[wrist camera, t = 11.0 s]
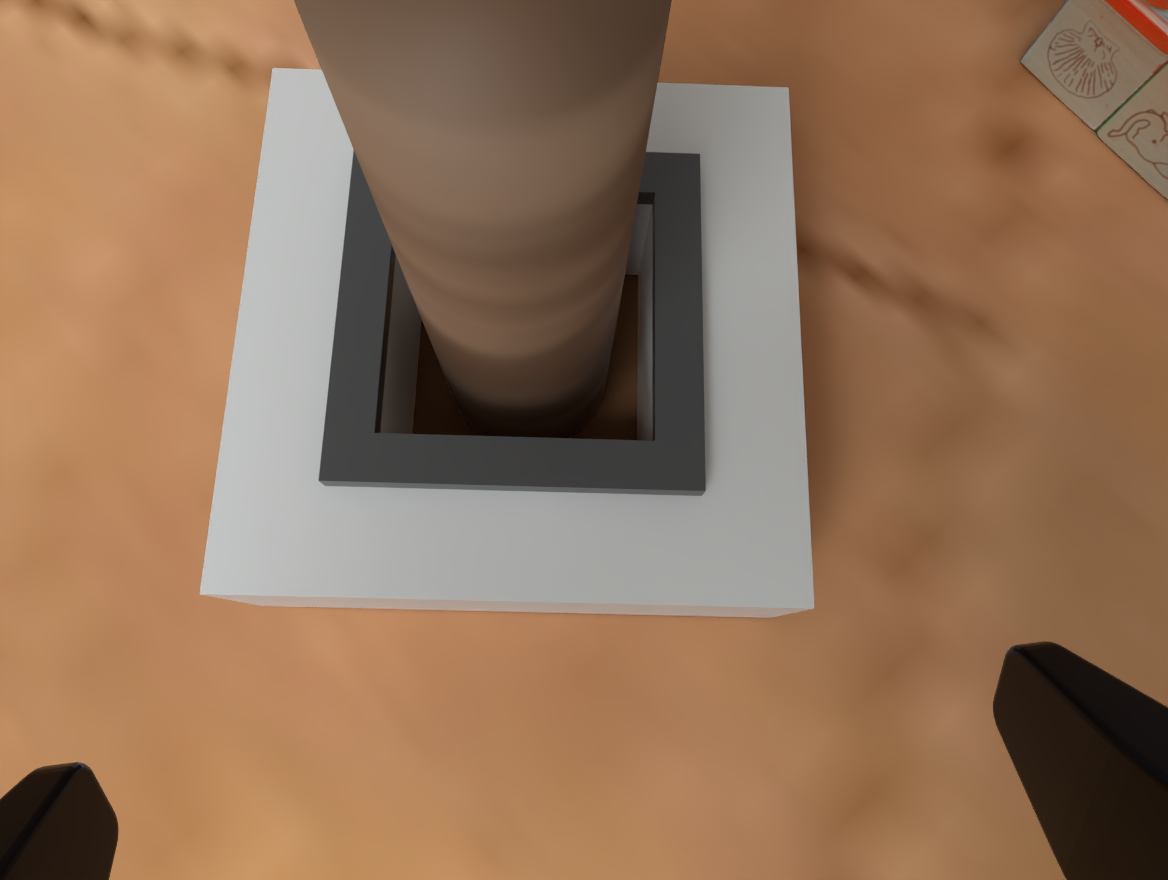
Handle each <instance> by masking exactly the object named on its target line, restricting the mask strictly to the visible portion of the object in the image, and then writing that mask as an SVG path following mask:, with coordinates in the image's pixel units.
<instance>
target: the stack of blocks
mask: <svg viewBox="0 0 1168 880" xmlns="http://www.w3.org/2000/svg"><path fill="white" fill-rule="evenodd" d="M1020 62H1021V63H1022V64H1023V65H1024V66H1025V67H1026V68H1027V69H1028V70H1029V71H1030V72H1031V73H1032V74H1033V75H1034V76H1036V77H1037V78H1038V79H1039V80H1040V81H1041V82H1042V83H1043V84H1044V85H1045V86H1046V87H1047V88H1048V89H1049V90H1050V91H1051V92H1052V93H1053V94H1054V95H1055V96H1056V97H1057V98H1059V99H1060V100H1061V101H1062V102H1063V103H1064V104H1065V105H1066V106H1067V107H1068V108H1070V109H1071V110H1072V111H1073V112H1074V113H1075V114H1076V115H1077V116H1078V117H1079V118H1080V119H1081V120H1082V121H1084V122H1085V123H1086V124H1087V125H1088V126H1089V127H1090V128H1092V129H1093V130H1095V131H1096V132H1097V134H1098V136H1099V138H1100V139H1101V140H1102V141H1103V142H1104V143H1105V144H1107V145H1108V146H1109V147H1110V148H1111V149H1112V150H1113V151H1115V152H1116V153H1117V154H1118V155H1119V156H1120V157H1121V158H1122V159H1123V160H1124V161H1125V162H1126V163H1128V164H1129V165H1130V166H1131V167H1132V168H1133V169H1134V170H1135V171H1136V172H1137V173H1138V174H1139V175H1140V176H1141V177H1142V178H1143V179H1145V180H1146V181H1147V182H1148V183H1149V184H1150V185H1151V186H1152V187H1153V188H1155V189H1156V190H1157V191H1158V192H1159V193H1160V194H1161V195H1162V196H1164V197H1165V198H1166V199H1167V200H1168V0H1066V2H1065V3H1064V5H1063V6H1062V7H1061V9H1060V10H1059V11H1058V12H1057V14H1056V15H1055V16H1054V17H1053V18H1052V20H1051V21H1050V22H1049V24H1048V25H1047V27H1046V28H1045V29H1044V31H1043V32H1042V33H1041V35H1040V36H1039V37H1038V38H1037V39H1036V41H1035V42H1034V43H1033V44H1032V46H1031V47H1030V48H1029V49H1028V51H1027V52H1026V53H1025V55H1024V56H1023V57H1022V59H1021V61H1020Z"/></svg>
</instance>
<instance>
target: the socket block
mask: <svg viewBox="0 0 1168 880" xmlns="http://www.w3.org/2000/svg"><path fill="white" fill-rule="evenodd" d="M625 275H638V395H637V440H610V439H575V438H539V437H504V436H468V435H433V434H413V423H414V410H415V397H416V384H417V371H418V358H419V345H420V332H421V316H420V314H419V311H418V309H417V306H416V304H415V301H414V299H413V296H412V294H411V291H410V289H409V286H408V284H407V281H406V279H405V276H404V274H403V271H402V269H401V266H400V264H399V261H398V259H397V256H396V254H395V251H394V249H393V246H392V244H391V241H390V239H389V236H388V234H387V231H386V229H385V226H384V224H383V221H382V219H381V216H380V214H379V211H378V209H377V206H376V204H375V201H374V199H373V196H372V194H371V191H370V189H369V186H368V184H367V181H366V179H365V176H364V174H363V171H362V169H361V166H360V164H359V161H358V159H357V156H356V154H355V151H354V149H353V146H352V144H351V141H350V139H349V136H348V134H347V131H346V129H345V126H344V124H343V121H342V119H341V116H340V114H339V111H338V109H337V106H336V104H335V101H334V99H333V96H332V94H331V92H330V89H329V87H328V84H327V82H326V79H325V77H324V74H323V72H322V70H314V69H288V68H273V70H272V77H271V84H270V92H269V99H268V106H267V113H266V120H265V127H264V135H263V142H262V149H261V156H260V163H259V171H258V178H257V185H256V192H255V199H254V207H253V214H252V221H251V228H250V235H249V243H248V250H247V257H246V264H245V271H244V278H243V286H242V293H241V300H240V307H239V314H238V322H237V329H236V336H235V343H234V350H233V358H232V365H231V372H230V379H229V386H228V394H227V401H226V408H225V415H224V422H223V429H222V437H221V444H220V451H219V458H218V465H217V473H216V480H215V487H214V494H213V501H212V509H211V516H210V523H209V530H208V537H207V545H206V552H205V559H204V566H203V573H202V580H201V588H200V594H201V595H207V596H212V597H217V598H223V599H228V600H233V601H239V602H244V603H249V604H255V605H260V606H290V607H332V608H375V609H418V610H461V611H504V612H546V613H589V614H632V615H675V616H718V617H761V618H772V617H777V616H782V615H786V614H791V613H796V612H801V611H806V610H811V609H814V589H813V569H812V549H811V529H810V508H809V488H808V468H807V448H806V428H805V408H804V387H803V367H802V347H801V327H800V307H799V287H798V266H797V246H796V226H795V206H794V186H793V166H792V146H791V125H790V105H789V87H763V86H737V85H710V84H684V83H657V89H656V95H655V100H654V106H653V112H652V118H651V124H650V130H649V136H648V141H647V147H646V153H645V159H644V165H643V171H642V177H641V183H640V188H639V194H638V200H637V206H636V212H635V218H634V224H633V230H632V235H631V241H630V247H629V253H628V259H627V265H626V271H625Z"/></svg>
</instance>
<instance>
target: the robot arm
mask: <svg viewBox="0 0 1168 880" xmlns="http://www.w3.org/2000/svg"><path fill="white" fill-rule="evenodd" d="M993 713H994V719H995V722H996V725H997V728H998V730H999V733H1000V735H1001V737H1002V739H1003V742H1004V744H1005V746H1006V748H1007V750H1008V753H1009V755H1010V757H1011V759H1012V762H1013V764H1014V766H1015V768H1016V771H1017V773H1018V775H1019V777H1020V780H1021V782H1022V784H1023V786H1024V789H1025V791H1026V793H1027V795H1028V798H1029V800H1030V802H1031V804H1032V806H1033V809H1034V811H1035V813H1036V815H1037V818H1038V820H1039V822H1040V824H1041V827H1042V829H1043V831H1044V833H1045V836H1046V838H1047V840H1048V842H1049V845H1050V847H1051V849H1052V851H1053V853H1054V855H1055V857H1056V859H1057V862H1058V864H1059V866H1060V868H1061V870H1062V872H1063V874H1064V876H1065V878H1066V880H1168V707H1166V706H1164V705H1163V704H1161V703H1159V702H1158V701H1156V700H1154V699H1152V698H1151V697H1149V696H1147V695H1145V694H1144V693H1142V692H1140V691H1139V690H1137V689H1135V688H1133V687H1132V686H1130V685H1128V684H1126V683H1125V682H1123V681H1121V680H1119V679H1118V678H1116V677H1114V676H1113V675H1111V674H1109V673H1107V672H1106V671H1104V670H1102V669H1100V668H1099V667H1097V666H1095V665H1094V664H1092V663H1090V662H1088V661H1087V660H1085V659H1083V658H1081V657H1080V656H1078V655H1076V654H1074V653H1073V652H1071V651H1069V650H1068V649H1066V648H1064V647H1062V646H1060V645H1058V644H1056V643H1053V642H1037V643H1029V644H1021V645H1015V646H1012V647H1011V648H1010V649H1009V650H1008V651H1007V653H1006V655H1005V658H1004V662H1003V666H1002V670H1001V674H1000V677H999V681H998V685H997V689H996V693H995V697H994V701H993ZM117 841H118V822H117V817H116V814H115V812H114V810H113V808H112V806H111V805H110V803H109V801H108V799H107V797H106V795H105V794H104V792H103V790H102V788H101V786H100V784H99V782H98V781H97V779H96V777H95V775H94V773H93V771H92V770H91V769H90V767H88V766H87V765H85V764H84V763H79V762H75V763H67V764H59V765H51V766H44V767H41V768H38V769H36V770H34V771H32V772H31V773H30V774H28V775H27V776H26V777H25V778H23V779H22V780H21V781H20V782H19V783H18V784H17V785H15V786H14V787H13V788H12V789H11V790H10V791H9V792H8V793H6V794H5V795H4V796H3V797H2V798H1V799H0V880H109V877H110V873H111V868H112V864H113V859H114V855H115V851H116V846H117Z"/></svg>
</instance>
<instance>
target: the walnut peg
mask: <svg viewBox="0 0 1168 880" xmlns="http://www.w3.org/2000/svg"><path fill="white" fill-rule="evenodd" d="M294 1H295V4H296V7H297V9H298V12H299V14H300V17H301V19H302V22H303V24H304V27H305V29H306V32H307V34H308V37H309V39H310V42H311V44H312V47H313V49H314V52H315V54H316V57H317V59H318V62H319V64H320V67H321V69H322V72H323V74H324V77H325V79H326V82H327V84H328V87H329V89H330V92H331V94H332V96H333V99H334V101H335V104H336V106H337V109H338V111H339V114H340V116H341V119H342V121H343V124H344V126H345V129H346V131H347V134H348V136H349V139H350V141H351V144H352V146H353V149H354V151H355V154H356V156H357V159H358V161H359V164H360V166H361V169H362V171H363V174H364V176H365V179H366V181H367V184H368V186H369V189H370V191H371V194H372V196H373V199H374V201H375V204H376V206H377V209H378V211H379V214H380V216H381V219H382V221H383V224H384V226H385V229H386V231H387V234H388V236H389V239H390V241H391V244H392V246H393V249H394V251H395V254H396V256H397V259H398V261H399V264H400V266H401V269H402V271H403V274H404V276H405V279H406V281H407V284H408V286H409V289H410V291H411V294H412V296H413V299H414V301H415V304H416V306H417V309H418V311H419V314H420V316H421V319H422V321H423V324H424V326H425V329H426V331H427V334H428V336H429V339H430V341H431V344H432V346H433V349H434V351H435V354H436V356H437V359H438V361H439V364H440V366H441V369H442V371H443V374H444V376H445V379H446V381H447V384H448V386H449V389H450V391H451V393H452V396H453V398H454V401H455V403H456V406H457V408H458V410H459V411H460V413H461V415H462V416H463V417H464V419H465V420H466V421H467V422H468V424H469V425H470V426H471V427H472V428H473V429H475V430H476V431H477V432H478V433H480V434H481V435H482V436H504V437H539V438H570V437H572V436H573V435H575V434H576V433H577V432H579V431H580V430H581V429H582V428H583V427H584V426H585V425H586V424H587V423H588V422H589V421H590V420H591V418H592V417H593V416H594V415H595V413H596V411H597V409H598V408H599V406H600V403H601V401H602V399H603V396H604V392H605V388H606V382H607V376H608V371H609V365H610V359H611V353H612V347H613V341H614V335H615V329H616V324H617V318H618V312H619V306H620V300H621V294H622V288H623V282H624V277H625V271H626V265H627V259H628V253H629V247H630V241H631V235H632V230H633V224H634V218H635V212H636V206H637V200H638V194H639V188H640V183H641V177H642V171H643V165H644V159H645V153H646V147H647V141H648V136H649V130H650V124H651V118H652V112H653V106H654V100H655V95H656V89H657V83H658V77H659V71H660V65H661V59H662V53H663V48H664V42H665V36H666V30H667V24H668V18H669V12H670V6H671V1H672V0H294Z"/></svg>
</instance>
